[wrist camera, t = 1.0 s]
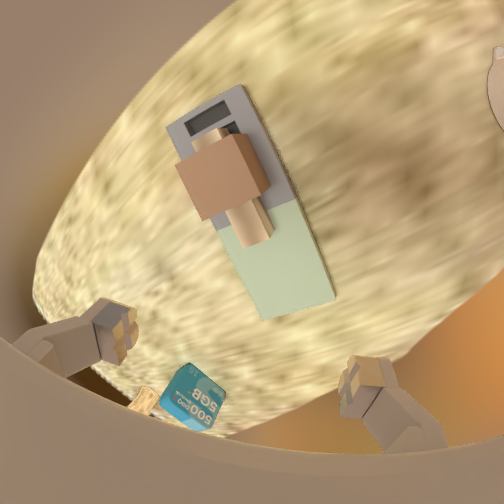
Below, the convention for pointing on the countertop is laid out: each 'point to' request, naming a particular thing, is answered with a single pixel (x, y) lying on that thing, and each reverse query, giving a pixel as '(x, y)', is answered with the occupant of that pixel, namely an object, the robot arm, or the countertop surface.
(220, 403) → the data package
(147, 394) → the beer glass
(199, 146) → the birch bar
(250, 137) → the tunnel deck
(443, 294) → the countertop surface
